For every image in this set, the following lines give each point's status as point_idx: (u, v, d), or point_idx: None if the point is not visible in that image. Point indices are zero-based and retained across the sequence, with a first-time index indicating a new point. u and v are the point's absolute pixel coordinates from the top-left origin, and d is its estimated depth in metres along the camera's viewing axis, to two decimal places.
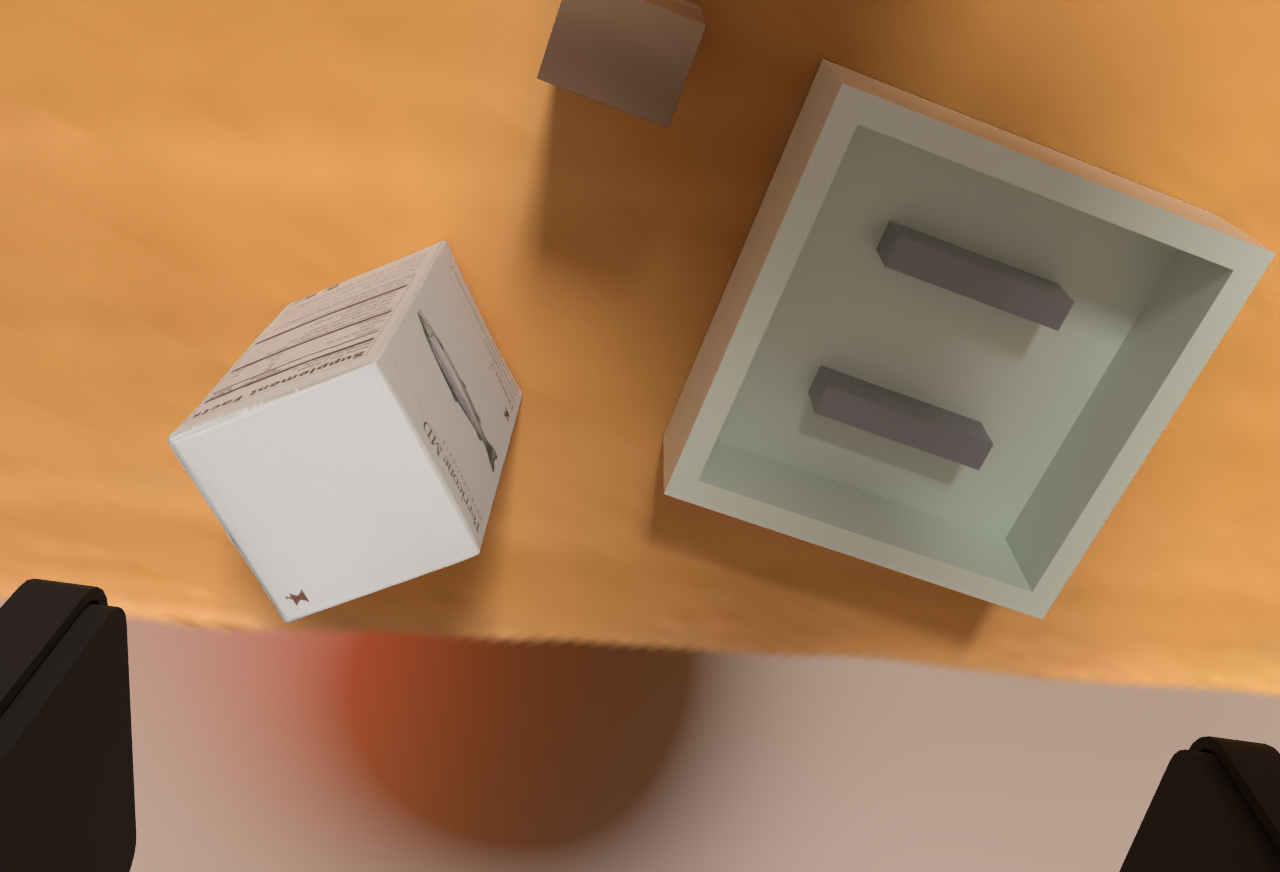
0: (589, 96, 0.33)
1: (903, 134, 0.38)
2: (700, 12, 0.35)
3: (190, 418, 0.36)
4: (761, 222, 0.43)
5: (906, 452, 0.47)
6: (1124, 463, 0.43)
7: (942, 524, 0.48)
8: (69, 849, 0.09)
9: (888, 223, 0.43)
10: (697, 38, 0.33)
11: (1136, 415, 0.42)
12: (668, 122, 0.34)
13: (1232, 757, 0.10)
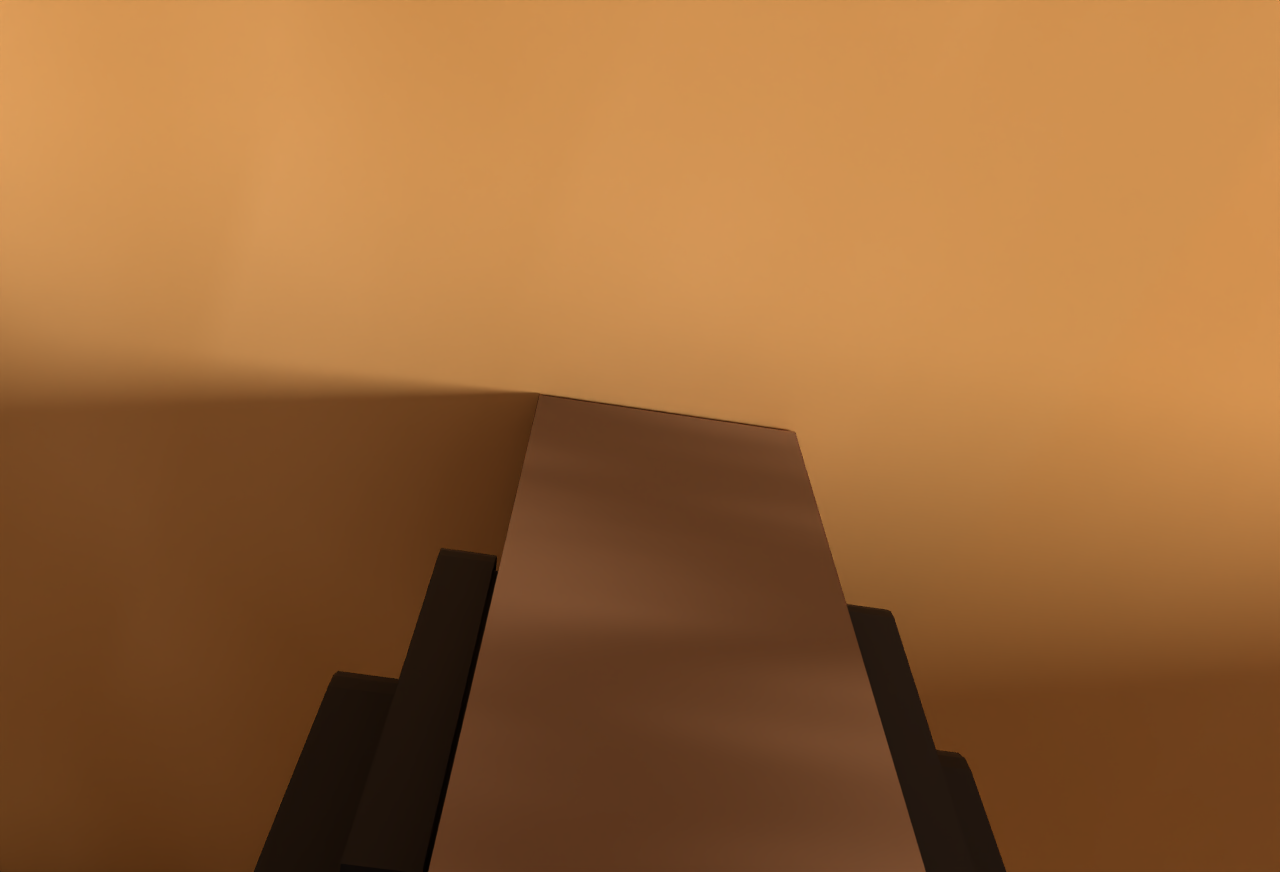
0: None
1: None
2: None
3: None
4: None
5: None
6: None
7: None
8: None
9: None
10: None
11: None
12: None
13: None
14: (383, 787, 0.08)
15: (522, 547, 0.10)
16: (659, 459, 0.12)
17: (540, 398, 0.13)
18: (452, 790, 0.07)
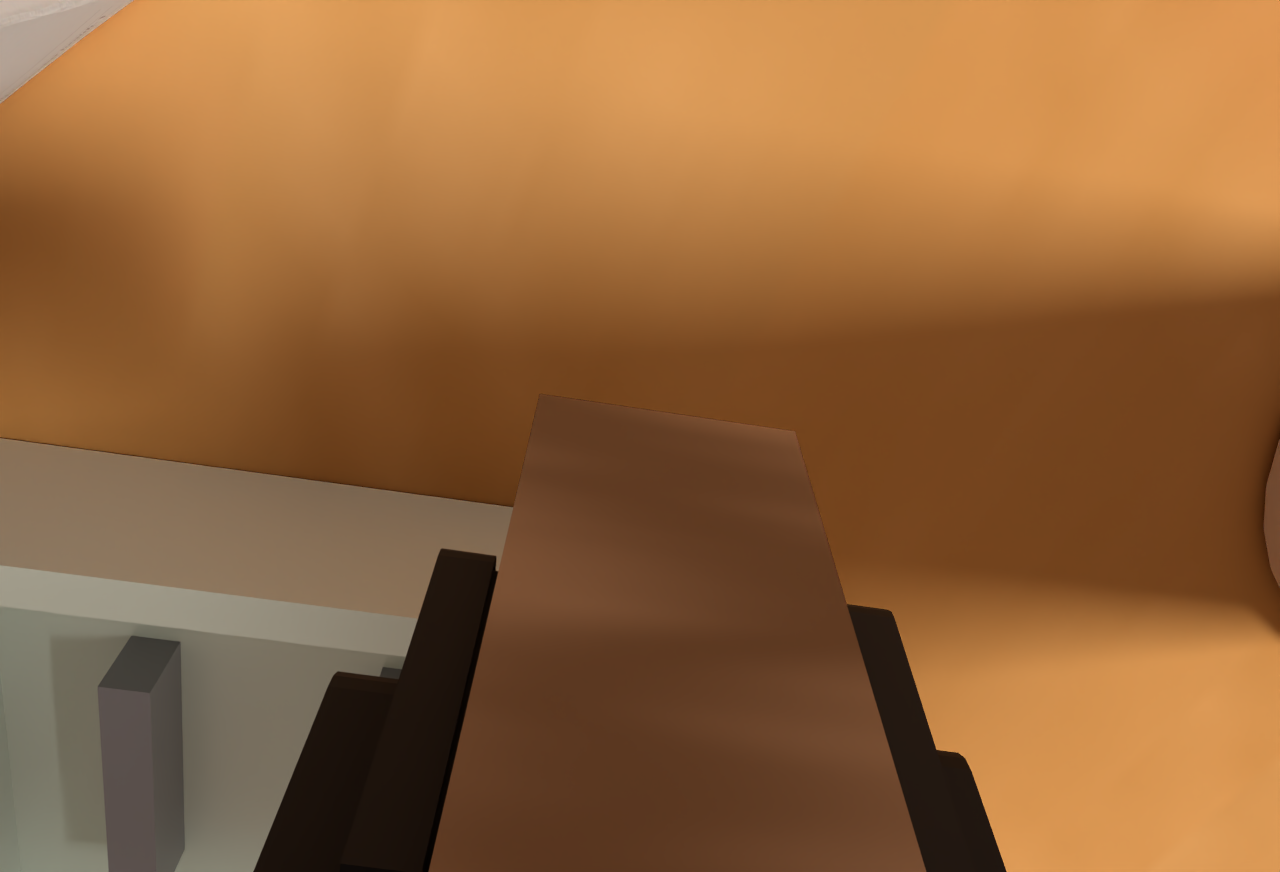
0: None
1: None
2: None
3: None
4: (371, 522, 0.27)
5: (96, 778, 0.31)
6: None
7: (5, 860, 0.31)
8: None
9: None
10: None
11: None
12: None
13: None
14: (383, 787, 0.08)
15: (522, 545, 0.10)
16: (659, 458, 0.12)
17: (540, 397, 0.13)
18: (453, 788, 0.07)
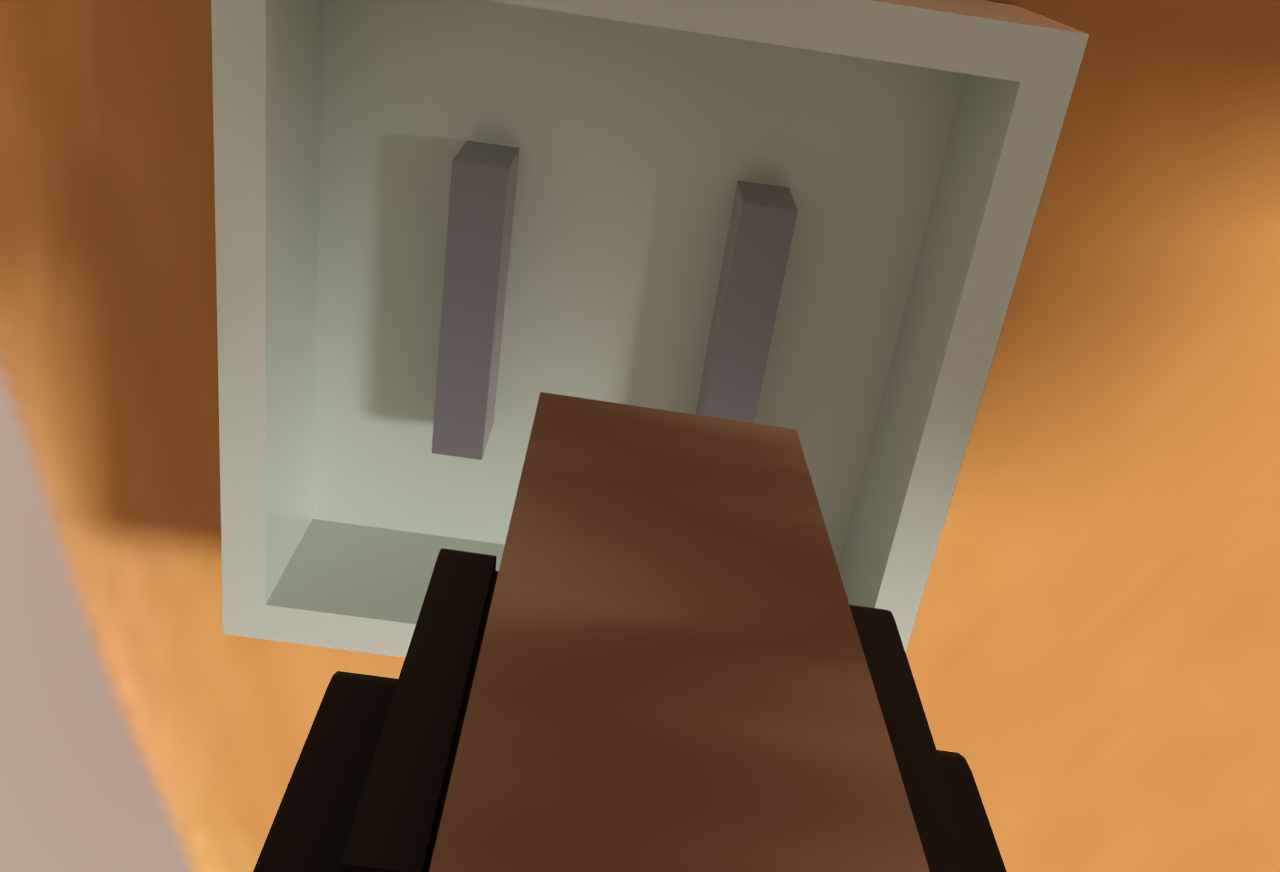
0: None
1: (1008, 164, 0.22)
2: None
3: None
4: None
5: (407, 331, 0.28)
6: None
7: (307, 425, 0.29)
8: None
9: (783, 186, 0.27)
10: None
11: None
12: None
13: None
14: (383, 787, 0.08)
15: (523, 543, 0.10)
16: (660, 456, 0.12)
17: (541, 395, 0.13)
18: (454, 786, 0.07)
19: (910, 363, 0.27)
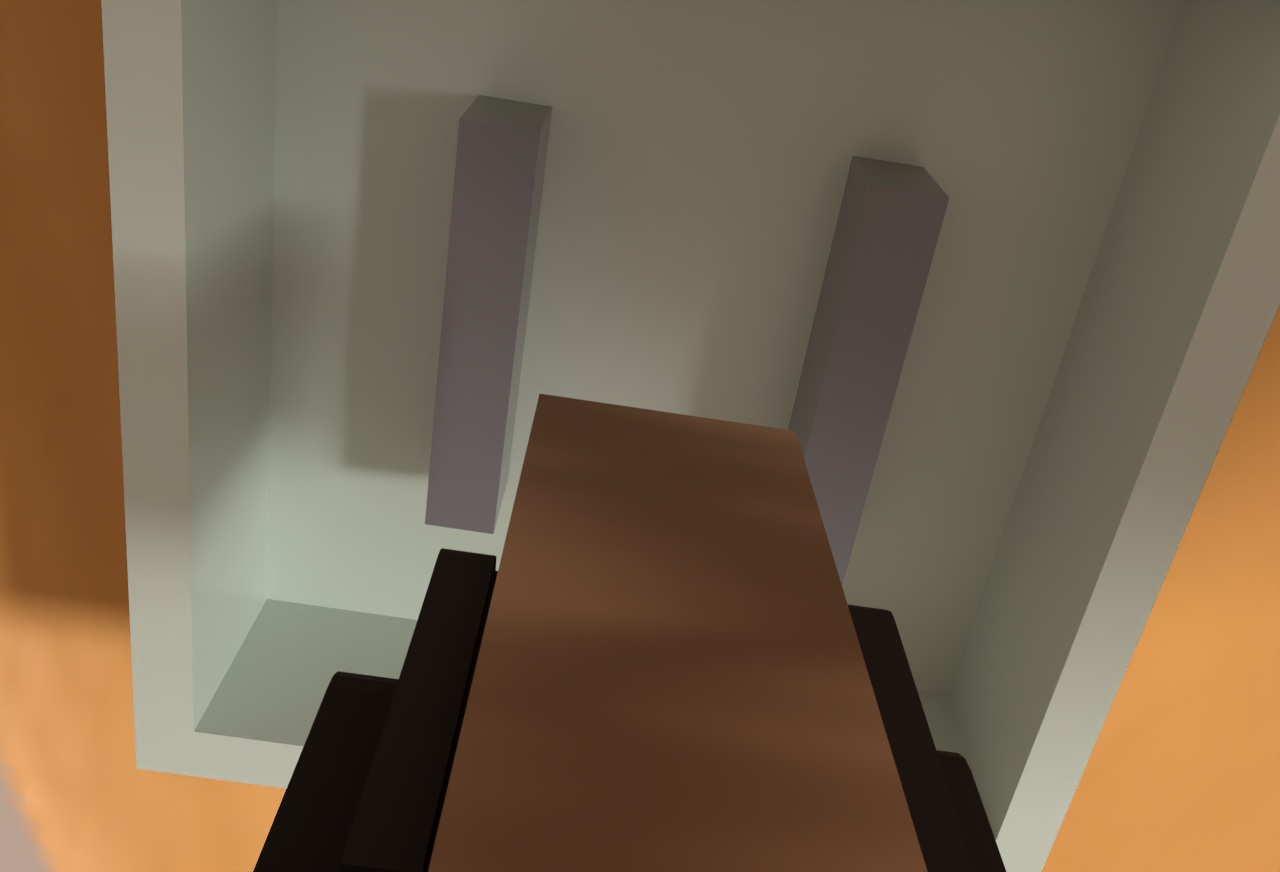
0: None
1: None
2: None
3: None
4: None
5: (394, 356, 0.21)
6: None
7: (258, 481, 0.21)
8: None
9: (916, 165, 0.19)
10: None
11: None
12: None
13: None
14: (383, 787, 0.08)
15: (522, 545, 0.10)
16: (659, 458, 0.12)
17: (540, 397, 0.13)
18: (452, 789, 0.07)
19: (1087, 411, 0.19)
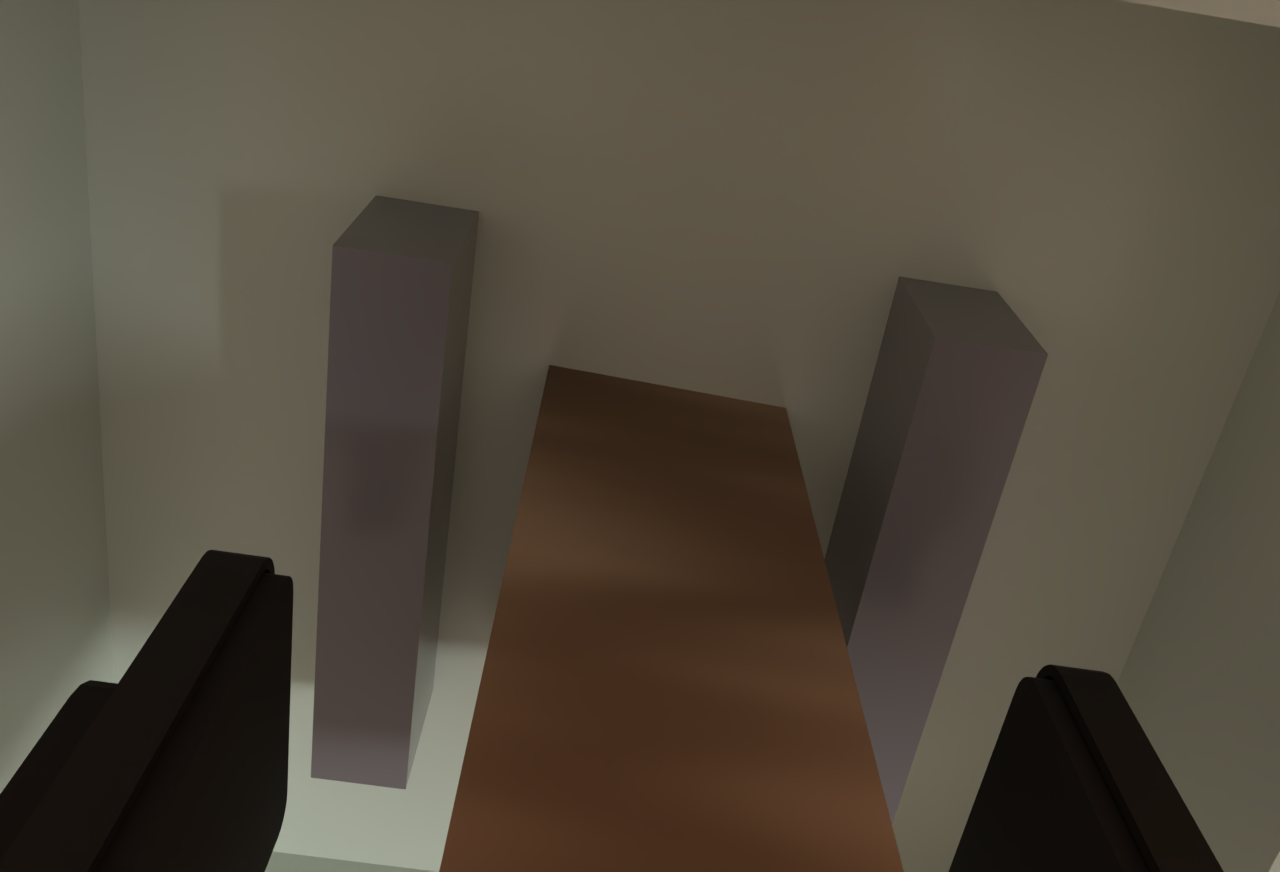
0: None
1: None
2: None
3: None
4: None
5: (274, 537, 0.15)
6: None
7: None
8: (249, 798, 0.10)
9: (987, 289, 0.14)
10: None
11: None
12: None
13: (1067, 681, 0.10)
14: (56, 808, 0.07)
15: (535, 507, 0.11)
16: (659, 429, 0.13)
17: (550, 368, 0.14)
18: (476, 718, 0.08)
19: (1226, 629, 0.14)
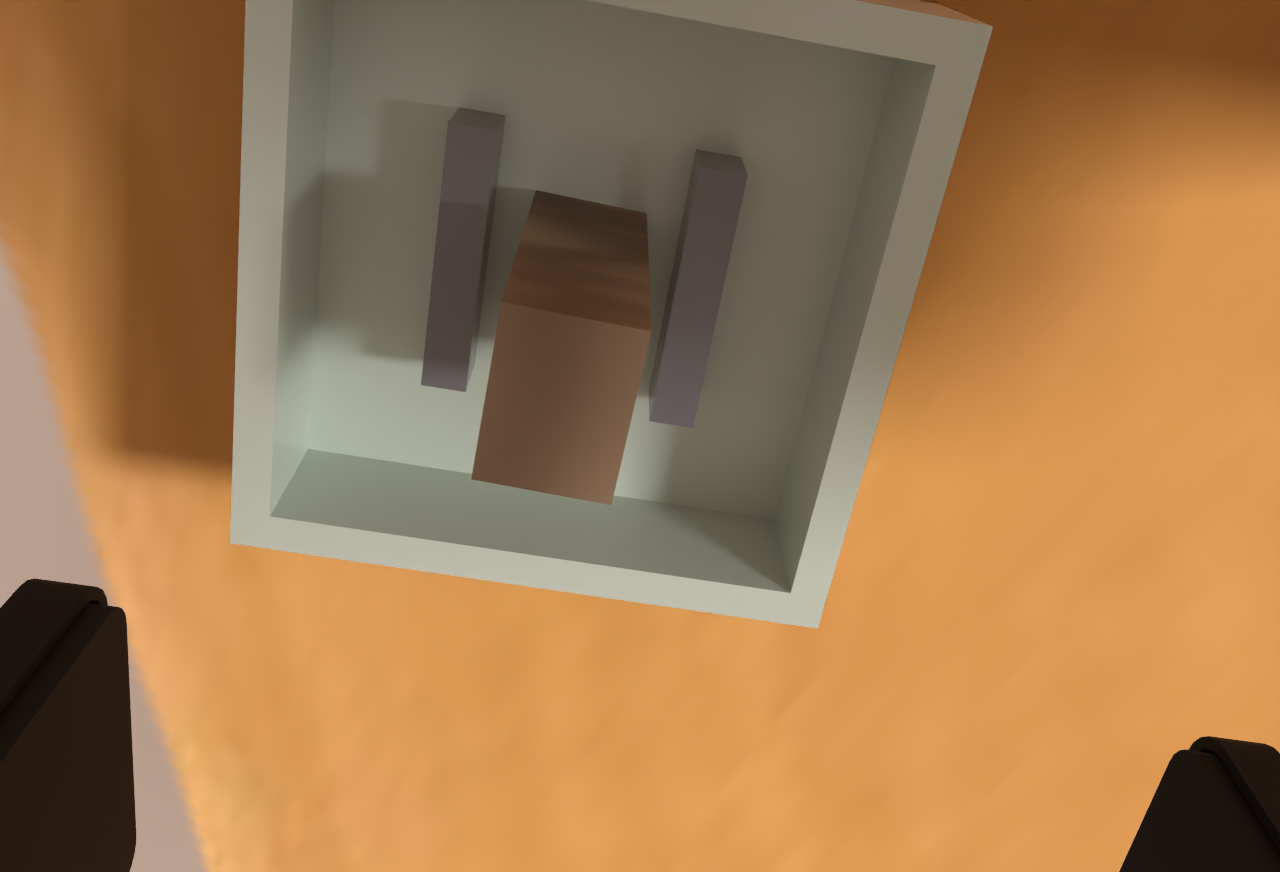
0: (491, 375, 0.23)
1: (926, 136, 0.26)
2: None
3: None
4: None
5: (400, 278, 0.32)
6: (504, 563, 0.31)
7: (307, 360, 0.32)
8: (69, 849, 0.09)
9: (736, 156, 0.30)
10: (594, 497, 0.25)
11: (572, 553, 0.31)
12: (478, 479, 0.24)
13: (1232, 757, 0.10)
14: None
15: (531, 227, 0.28)
16: (585, 213, 0.30)
17: (536, 191, 0.31)
18: (513, 266, 0.25)
19: (843, 312, 0.31)
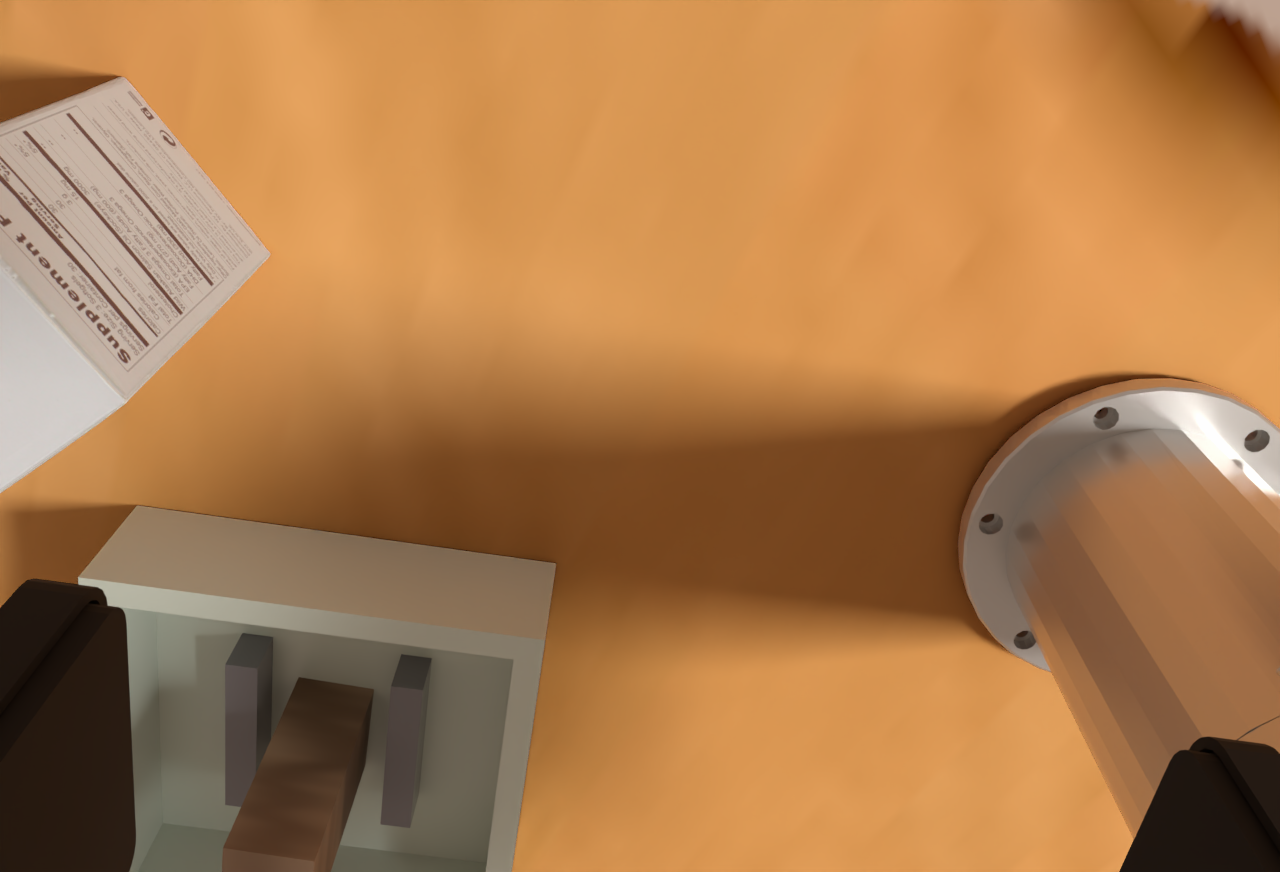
0: None
1: (515, 694, 0.42)
2: None
3: None
4: (395, 563, 0.43)
5: (214, 726, 0.47)
6: None
7: (154, 779, 0.48)
8: (69, 849, 0.09)
9: (428, 657, 0.46)
10: None
11: None
12: None
13: (1232, 757, 0.10)
14: None
15: (276, 737, 0.43)
16: (325, 704, 0.45)
17: (298, 678, 0.46)
18: (245, 798, 0.40)
19: None
